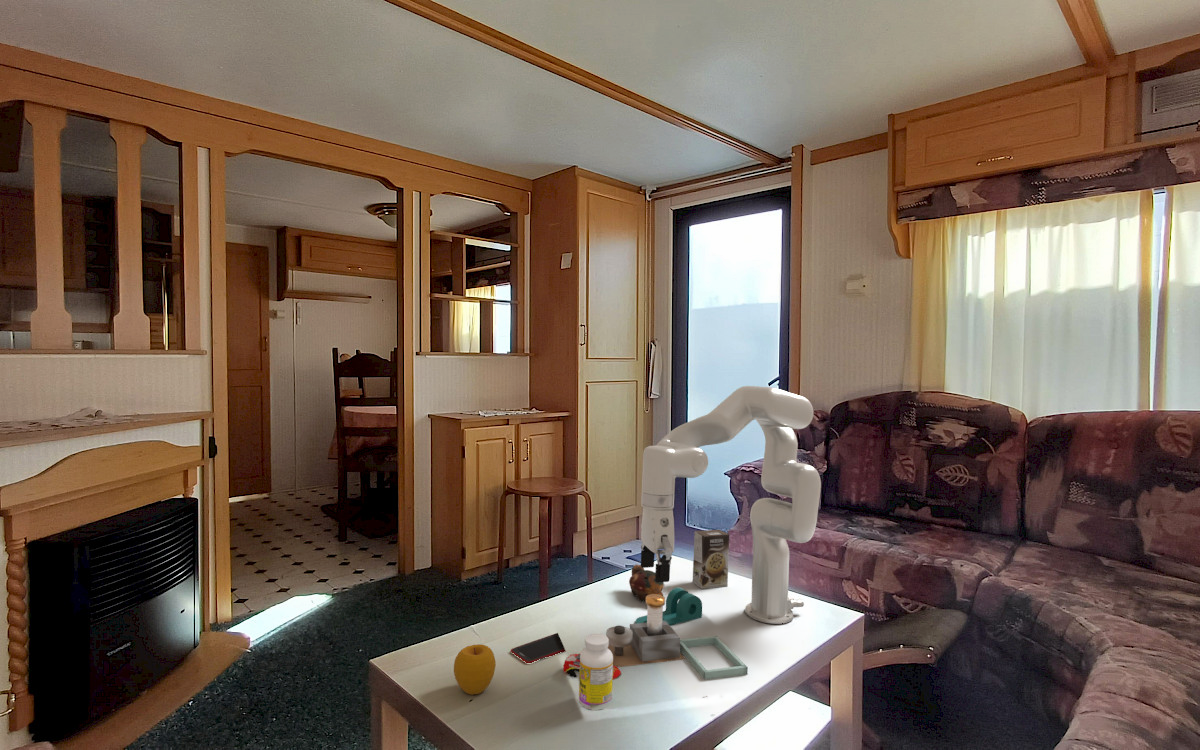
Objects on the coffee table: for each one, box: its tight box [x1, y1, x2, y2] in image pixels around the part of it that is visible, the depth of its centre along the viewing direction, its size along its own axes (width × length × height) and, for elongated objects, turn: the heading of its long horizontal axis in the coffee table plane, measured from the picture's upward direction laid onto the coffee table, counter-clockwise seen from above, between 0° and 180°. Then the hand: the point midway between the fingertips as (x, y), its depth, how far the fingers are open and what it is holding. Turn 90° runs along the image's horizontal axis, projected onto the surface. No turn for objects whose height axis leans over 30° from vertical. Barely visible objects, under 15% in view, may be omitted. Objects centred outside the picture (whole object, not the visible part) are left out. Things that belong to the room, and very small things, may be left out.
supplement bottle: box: [578, 633, 613, 711], centre depth 120 cm, size 7×7×13 cm
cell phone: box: [510, 632, 567, 663], centre depth 142 cm, size 8×15×1 cm, turn 131°
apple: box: [453, 643, 497, 696], centre depth 124 cm, size 8×8×9 cm
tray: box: [680, 635, 749, 680], centre depth 135 cm, size 10×15×3 cm, turn 15°
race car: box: [562, 653, 622, 681], centre depth 130 cm, size 13×5×4 cm, turn 63°
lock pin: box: [645, 594, 666, 636], centre depth 139 cm, size 4×4×12 cm
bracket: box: [635, 586, 703, 627], centre depth 156 cm, size 18×7×8 cm, turn 121°
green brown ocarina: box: [628, 564, 665, 602], centre depth 174 cm, size 10×15×8 cm, turn 31°
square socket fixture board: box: [605, 621, 686, 668], centre depth 138 cm, size 17×11×8 cm, turn 105°
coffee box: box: [692, 529, 730, 589], centre depth 185 cm, size 9×6×16 cm
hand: (654, 574), depth 139 cm, fingers open, 9 cm apart
